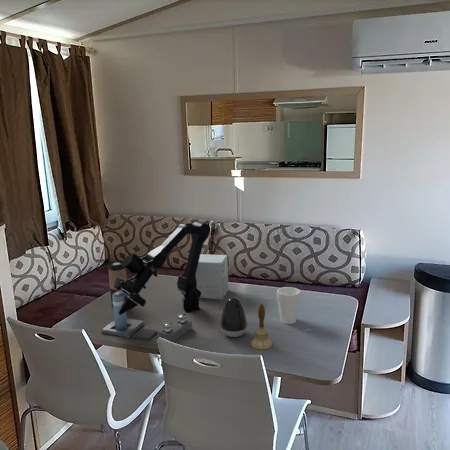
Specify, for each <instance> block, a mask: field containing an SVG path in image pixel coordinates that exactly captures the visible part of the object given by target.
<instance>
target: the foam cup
mask: <svg viewBox="0 0 450 450" xmlns="http://www.w3.org/2000/svg"><path fill="white" fill-rule="evenodd" d="M276 297H277V303H278V311H279V319H280V323H283V324H285V325H293V324H295V323H296V322H297V318H298V312H299V306H300V305H299V304H300V299H301V290H300V289H299V288H296V287H293V286H285V287H280V288H278V289H277V290H276ZM292 323H293V324H292Z"/></svg>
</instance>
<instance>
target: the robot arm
mask: <svg viewBox="0 0 450 450" xmlns="http://www.w3.org/2000/svg"><path fill="white" fill-rule="evenodd" d="M210 233H211V227H210V225H209V224H208V223H205V222H202V221H199V220H197V221H194V222H188V223H180V224H178V226H177V228H176V229H175V230H174V231H172V233H171V234H170V235H169V236H168V237H167V238H166V239H165V240H164V241H163V242H162V243H161V245H159V246H158V247H156V248H153V249H152V250H151V251H149V252H148V253H147V254H146V255H143V256H141V257H140V256H138V255H137V254H136V253H134V252H131V253H130V254H128V255H126V257H124V258H123V259H122V260H121V261H122V266H123V267H124V268H126V270H127V271H128V272H129V273H131V274H133V276H130V277H129V278H127V277H126V278H122V277H117V278H116V281H115V286H114V287H115V288H116V289H118V291H117V290H116V291H117V292H124V294H125V303H124V304H123V306H122V308H121V309H120V311H119V314H120V315H121V314H123V313H125V312H126V313H127V312H128V311H129V310H132V309H133V308H136V307H138V306H141V307H142V308H144V306H145V305H146V304H147V301H146V299H145V298H143V297H142V296H141V295H140V293H141V291H142V290H143V289H146V288H147V286H146V285H147V283H148V282H149V280H150V279H151V277H153V276H154V277H156V278H157V277H158V273H157V272H158V271H157V270H158V269H160V268H162V267H163V266H164V264H165V263H166V261H167V259H168V255H169V254H170V253H171V252H172V250H174V249H175V247H176V246H177V245H179V243H181V241H182V240H183V239H184V238H185V237H186V236H188V235H190V236H191V244H190V248H189V253H188V256H187V257H188V258H187V260H186V264H185V270H184V272H183V274H182V275H178V279H177V282H176V286H177V290H178V291H179V292H180V293H181V295H182V296H183V297H182V298H181V299H182V301H181V302H182V309H184V311H185V312H186V313H189V312H190V313H191V312H195V311H201V307H200V299H199V297H201V292H200V291H199V290H198V289H197V288H196V286H197V281H196V271H197V266H198V262H199V258H200V254H202V250H203V245H204V243H205V242H206V241H207V240H208V238H209V235H210ZM152 268H153V269H152ZM126 296H127V297H126ZM112 308H113V307H112ZM112 310H113V311H114V308H113V309H112Z"/></svg>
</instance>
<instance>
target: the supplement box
mask: <svg viewBox="0 0 450 450" xmlns="http://www.w3.org/2000/svg"><path fill="white" fill-rule="evenodd" d="M228 263H229V262H228V255H227V254H205V253H204V254H202V253H201V254H200V258H199V262H198V266H197V271H196V281H197V286H196V288H197V289H198V290H199V291H200V292H201V297H199V298H200V299H213V300H223V299H224V297H225V296H226V294H227V293H228V291H229V270H228V269H229V268H228V267H229V266H228V265H229V264H228Z"/></svg>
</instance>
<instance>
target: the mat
mask: <svg viewBox="0 0 450 450" xmlns="http://www.w3.org/2000/svg"><path fill="white" fill-rule="evenodd" d="M158 332H159V331H158V330H155V329H149V328H148V329H147V328H143V327H141V328H140V329H138V331H137V332H135V333H133V334H132V338H133V339H137V340H138V339H139V340H144V341H150V340H152V338H154V336H156V335H157V334H159V333H158Z"/></svg>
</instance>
